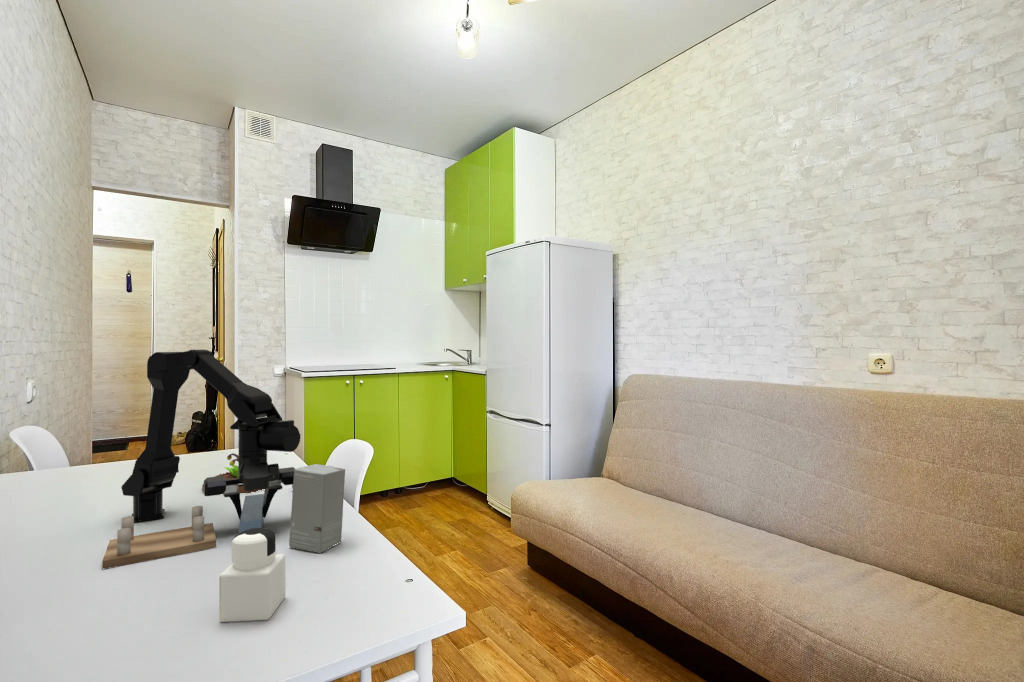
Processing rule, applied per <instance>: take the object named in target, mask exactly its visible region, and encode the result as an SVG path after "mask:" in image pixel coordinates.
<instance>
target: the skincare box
mask: <svg viewBox="0 0 1024 682" xmlns="http://www.w3.org/2000/svg"><path fill="white" fill-rule="evenodd" d="M345 478H346V468H342V467H336V466H334V465H326V464H325V465H324V464H319V463H315V464H310V465H307V466H301V467H297V468H295V469H294V481H293V488H292V499H291V509H290V510H291V511H290V512H291V513H290V526H289V527H290V529H289V542H288V543H289V544H288V545H289V548H291V549H295V548H296V549H295V550H302V551H306V550H307V551H306V552H312V551H313V553H317V554H322V553H323V551H324V550H326V549H328V548H330V547H332V546H333V545H335V544H337V543H339V542H341V543H342V533H343V531H342V530H343V512H344V494H345V493H344V492H345V482H346V479H345ZM332 548H333V547H332ZM330 549H331V548H330ZM328 550H329V549H328ZM326 551H327V550H326ZM321 552H322V553H321ZM324 552H325V551H324Z"/></svg>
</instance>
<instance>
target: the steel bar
mask: <svg viewBox="0 0 1024 682" xmlns="http://www.w3.org/2000/svg"><path fill="white" fill-rule="evenodd" d="M263 501H264V493H260V494H250V495H245V496H244V500H243V505H242V508H241V509H242V513H241V518H240V520H239V524H238V525H239V528H238V529H239V531H238V534H239V533H241V532H242V531H245V530H248V529H253V528H263V524H264V518H263Z"/></svg>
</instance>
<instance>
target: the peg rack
mask: <svg viewBox="0 0 1024 682" xmlns="http://www.w3.org/2000/svg"><path fill="white" fill-rule="evenodd" d="M203 511H204V507H203V505H197V506H196V505H195V506H192V507H191V526H186V527H180V528H175V529H167V530H162V531H156V532H150V533H145V534H139V535H134V534H135V531H134V530H135V526H134V525H135V522H134V516H131V515H128V516H123V517H122V518H121V523H120V525H121V527H120V529H117V536H116V538H114V539H109V541H108V544H107V546H106V550H105V553H104V556H103V558H102V560H101V561H102V563H101V564H102V565H101V567H102V568H101V569H102V570H104V569H103V568H107V569H110V568H109V567H112V568H116V567H115V566H117V567H121V566H128V565H133V564H137V563H144V562H147V561H152V560H158V559H163V558H167V557H169V558H170V557H174V556H179V555H184V554H191V553H194V552H195V553H196V552H200V550H201V551H205V549H206V550H210V549H216V548H217V538H216V531H215V526H214V522H210V523H205V516H203V515H204V512H203ZM215 547H216V548H215ZM127 564H128V565H127Z"/></svg>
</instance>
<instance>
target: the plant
mask: <svg viewBox="0 0 1024 682" xmlns="http://www.w3.org/2000/svg"><path fill="white" fill-rule="evenodd" d="M233 457H235V458H234V459H232V458H233ZM226 459H227V460H228V461H230V462H229V466H231V467H228V466H227V467H226V466H225V467H224V469H225V470H227V471H228V472H227V471H226V472H225V473H219V474H217V475H214V476H213V477H216V476H225V479H226V480H227V479H235V478H238V465H235V463H236V462H237V464H238V463H239V454H236V453H234V452H232V453H230V454H228V455H227V456H226ZM269 473H270V472H269ZM201 486H202V488H201V491H203V493H204V482H203V483H202V485H201ZM258 490H261V491H263V490H262V489H256V490H252V491H245V490H244V486H241V487H238V491H239V493H246V494H252V493H251V492H255V493H257V492H256V491H258ZM258 492H259V491H258Z"/></svg>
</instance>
